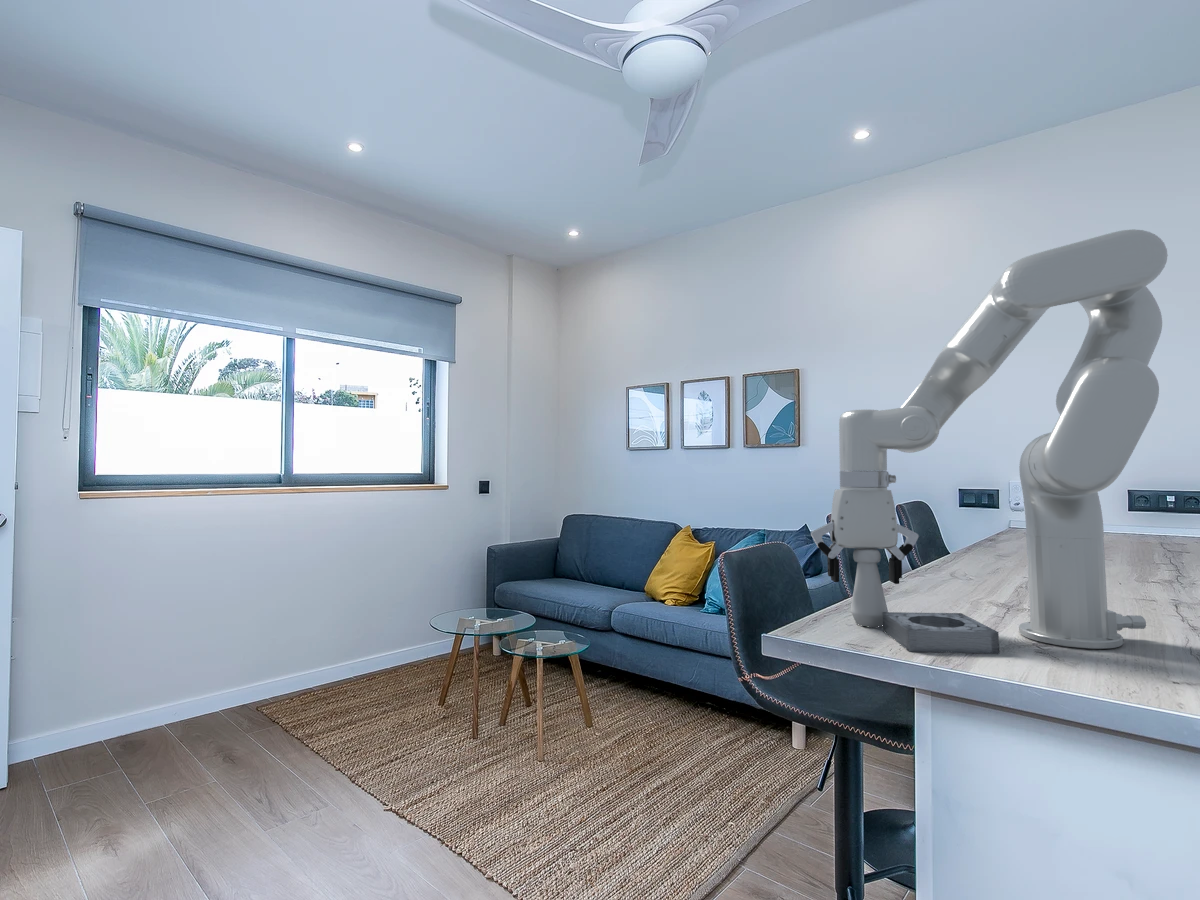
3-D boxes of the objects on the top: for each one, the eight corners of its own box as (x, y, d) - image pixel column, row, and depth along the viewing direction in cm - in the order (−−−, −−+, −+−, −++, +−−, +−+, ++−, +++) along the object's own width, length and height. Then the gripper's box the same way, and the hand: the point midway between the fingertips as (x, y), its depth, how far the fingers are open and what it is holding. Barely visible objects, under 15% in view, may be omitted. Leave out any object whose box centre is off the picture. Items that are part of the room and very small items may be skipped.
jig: (961, 631, 98) (961, 613, 98) (999, 653, 86) (998, 632, 87) (883, 630, 100) (882, 612, 100) (909, 651, 88) (908, 630, 88)
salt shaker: (881, 620, 107) (878, 546, 107) (893, 629, 101) (890, 549, 102) (846, 620, 107) (844, 546, 108) (857, 628, 102) (854, 550, 102)
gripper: (908, 481, 108) (910, 579, 107) (806, 481, 110) (807, 576, 110) (925, 482, 100) (926, 587, 100) (815, 481, 103) (816, 584, 102)
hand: (864, 581), depth 105 cm, fingers open, 9 cm apart
